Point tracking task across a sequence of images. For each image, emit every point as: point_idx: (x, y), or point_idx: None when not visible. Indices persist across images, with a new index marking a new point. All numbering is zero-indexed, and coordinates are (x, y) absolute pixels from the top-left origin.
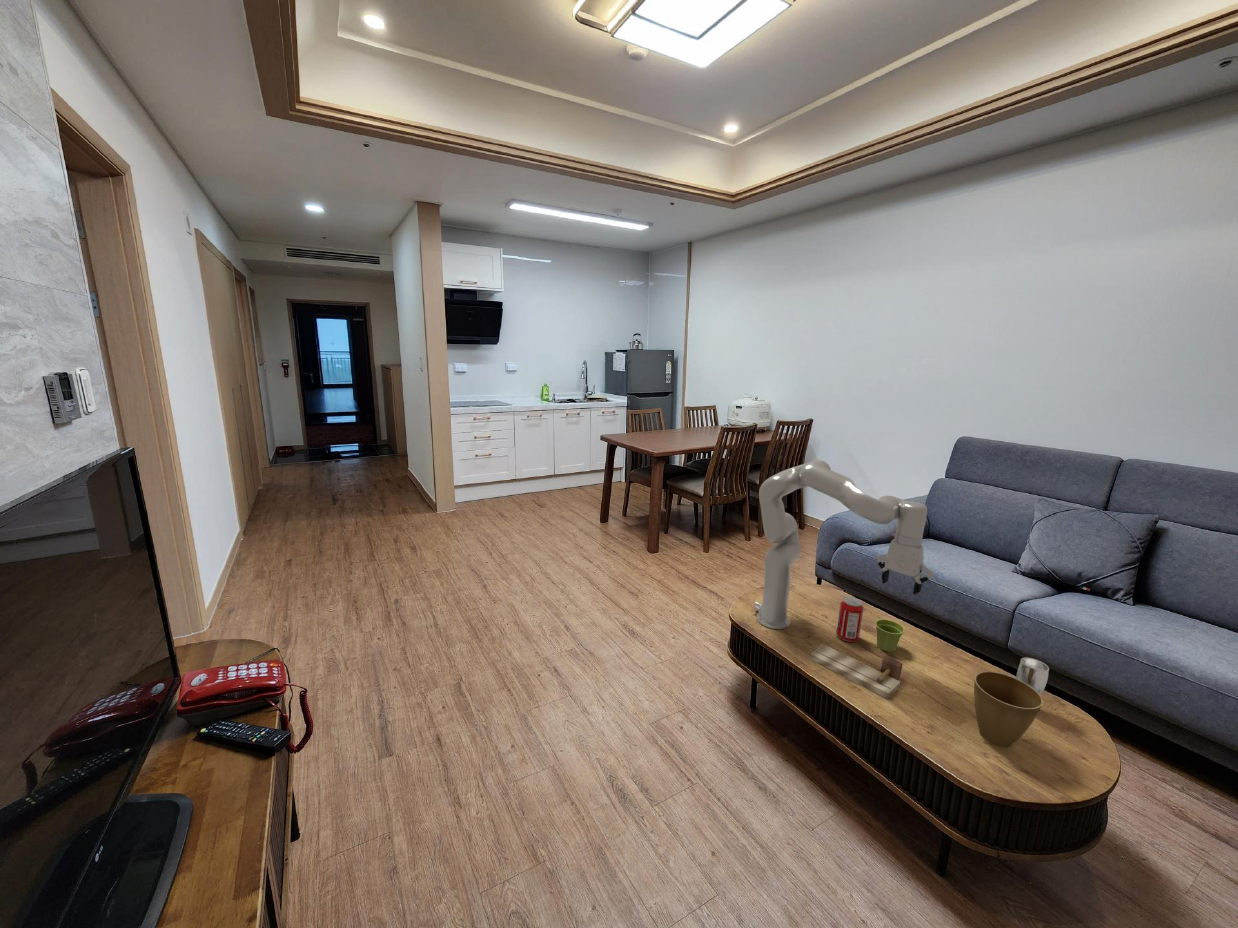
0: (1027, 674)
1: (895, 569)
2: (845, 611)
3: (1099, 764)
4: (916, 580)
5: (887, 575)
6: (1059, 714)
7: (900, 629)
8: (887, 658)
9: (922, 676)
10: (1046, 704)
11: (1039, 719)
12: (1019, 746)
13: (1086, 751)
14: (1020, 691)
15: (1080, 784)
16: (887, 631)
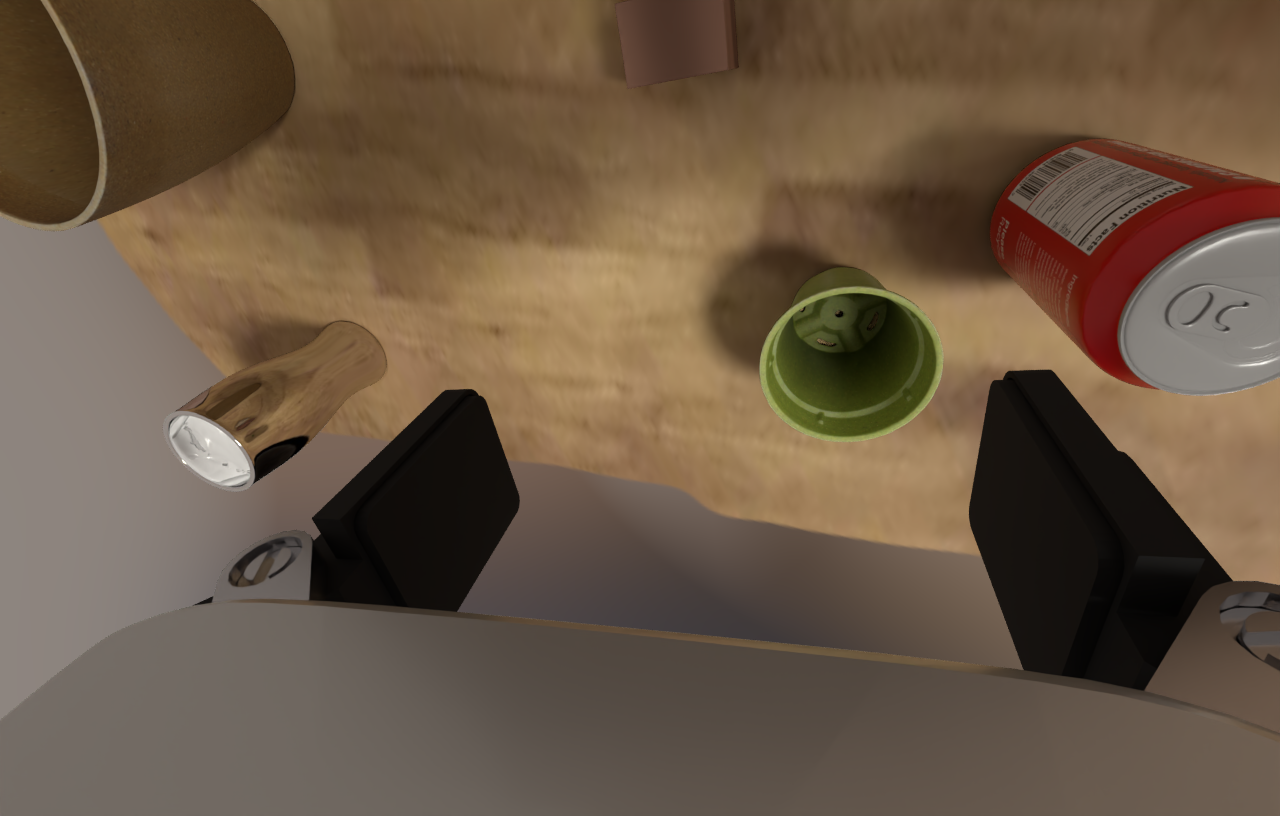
0: (220, 390)
1: (760, 736)
2: (1235, 178)
3: (130, 244)
4: (293, 578)
5: (1027, 570)
6: None
7: (798, 409)
8: (708, 36)
9: (608, 218)
10: (351, 420)
11: (302, 324)
12: None
13: (176, 277)
14: (84, 204)
15: None
16: (866, 384)
